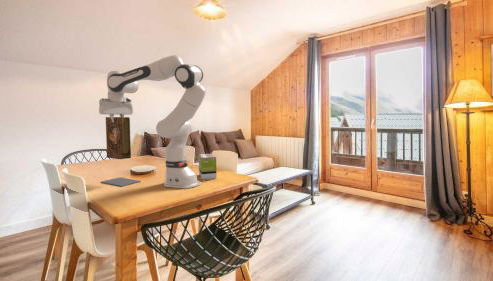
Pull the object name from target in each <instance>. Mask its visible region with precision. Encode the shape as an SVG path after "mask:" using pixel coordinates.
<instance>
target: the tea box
mask: <svg viewBox="0 0 493 281" xmlns="http://www.w3.org/2000/svg"><path fill="white" fill-rule="evenodd" d="M198 175H199V177H200V178H201V180H203V181H204V179H205V180H216V179H217V156H216V155H214V154H213V153H200V154H198Z"/></svg>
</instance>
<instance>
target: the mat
mask: <svg viewBox="0 0 493 281" xmlns="http://www.w3.org/2000/svg"><path fill="white" fill-rule="evenodd" d="M137 183H141V180H137V179H133V178H126V177H121V176H120V177H119V176H118V177H115V178H111V179H107V180H103V181H100V184H105V185H106V184H107V185H109V186H111V185H112V186H117V187H120V188H123V187H126V186H130V185H133V184H137Z"/></svg>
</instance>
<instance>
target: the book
mask: <svg viewBox="0 0 493 281" xmlns="http://www.w3.org/2000/svg"><path fill="white" fill-rule="evenodd" d="M113 117H114V122H112V119H111V118H110V116H106V117H105V137H106V138H105V139H106V158H107V159H115V160H125V159H131V158H132V147H131V143H132V142H131V141H132V140H131V118H130V117H129V116H124V117H121V116H113Z"/></svg>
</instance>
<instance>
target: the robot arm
mask: <svg viewBox="0 0 493 281" xmlns="http://www.w3.org/2000/svg"><path fill="white" fill-rule="evenodd" d="M172 77H174V79H175V80H176V81H177V82H178V84H180V86H181V87H182V88H183V89H185V91H184V93H183V95H182V96H181V98H180V100H179V102H178V103H177V104H176V107H175V108H174V109H173V110H171V112H170V113H168V114H167V116H166V117H164V118H162V119H161V120H159V121H158V122H157V124H156V126H155V127H156V128H155V130H156V133H157V134H158V136H160V137H161V138H165V139H170V141H169V143H168V145H166V148H165V157H166V158H165V167H166V168H165V169H166V170H165V176H164V178H165V179H164V183H163V186H164V187H165V188H175V189H191V188H195V187H198V186H200V185H202V182H201V181H200V180H198V176H197V173H196V172H195V171H193V169H191V168H190V167H189V164H190V163H189V161H187V159H186V147H187V146H186V145H187V141H188V138H189V136H190V134H191V133H192V130H193V124H192V122H191V121H190V120H192V119H193V118H194V116H195V115H196V113H197V111H198V110H199V108H200V106H201V105H202V103H203V101H204V98H205V95H206V89H205V87H204V86H203V85H202V84H201V82H202V81H203V78H204V73H203V70H202V68H200V67H199V66H198V65H195V64H194V65H193V64H189V63H187V64H185V63H184V61H183V60H182V58H181V57H180V56H179V55H175V54H174V55H169V56H166V57H162V58H160V59H158V60H156V61H154V62H151V63H148V64H145V65H142V66H139V67H136V68H134V69H131V70H128V71H125V72H121V71H119V70H112V71H110V72H108V73H107V77H106V86H107V98H103V97H102V98H101V99H99V101H98V103H99V106H98V107H99V108H98V113H99V114H100V115H109V117H110V118H111V119H112V122H114V117H115V115H119V117H125V115H126V116H127V115H128V116H129V115H133V113H134V108H133V104H132V101H133V99H131V98H129V97H127V96H125V94H134V93H136V92H137V91H138V89H139V82H140V81H152V82H153V81H154V82H155V81H156V82H162V81H166V80H168V79H171V78H172Z"/></svg>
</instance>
